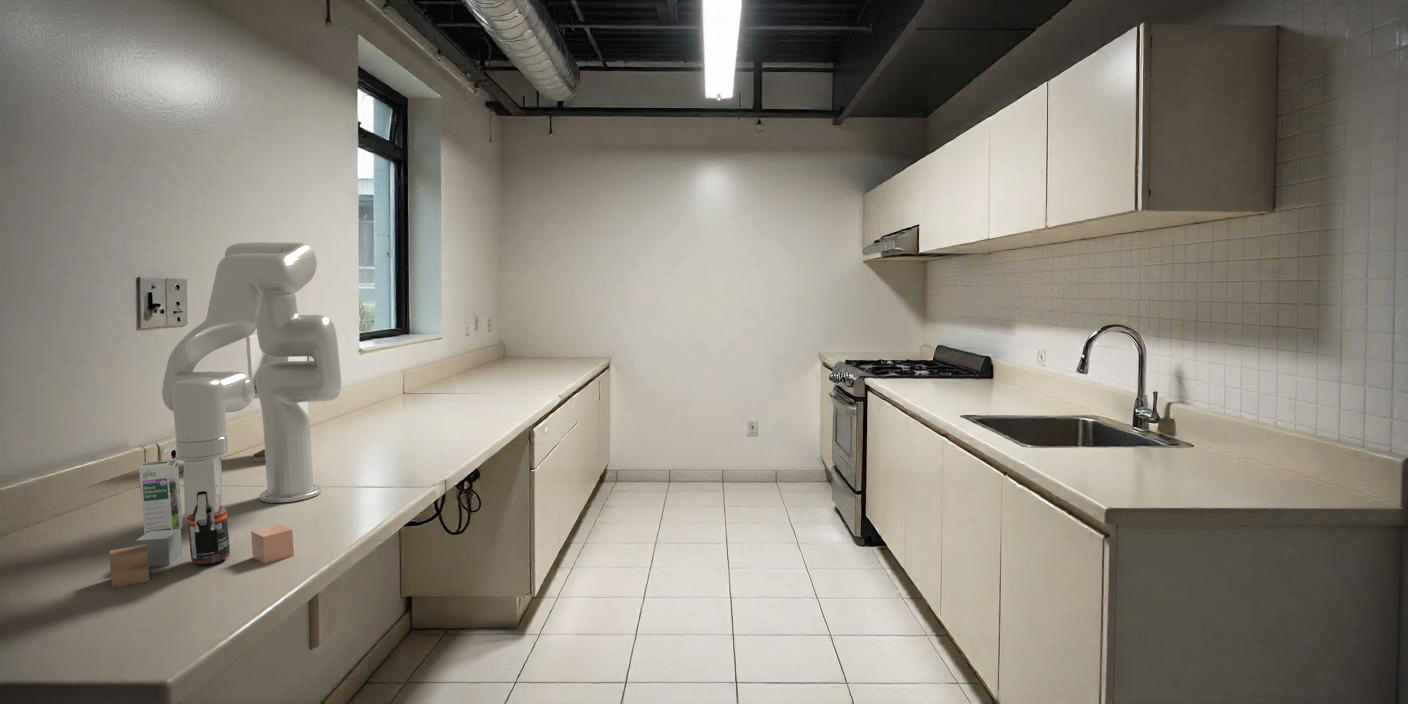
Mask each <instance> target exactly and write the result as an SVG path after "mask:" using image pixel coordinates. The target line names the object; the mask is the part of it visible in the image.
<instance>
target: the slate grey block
mask: <svg viewBox="0 0 1408 704" xmlns="http://www.w3.org/2000/svg"><path fill="white" fill-rule="evenodd" d="M145 544H147V554H148V567H149V568H151V567H160V566H161V567H163V566H171V565H172V564H173V563H174V562H175V561H177V560H178V559H180V558H181V557H182V556H183V543H182V529H176V530H160V531H149V532H148V533H146V534H145V535H144V534H143V535H142V536H140V537H139V538H137V539H135V546H140V545H145ZM180 556H181V557H180Z"/></svg>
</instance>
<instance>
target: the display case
mask: <svg viewBox="0 0 1408 704" xmlns="http://www.w3.org/2000/svg"><path fill="white" fill-rule="evenodd" d="M245 339H246V354H247V355H246V357H247V358H246V359H247V371H248V374H247V375H248V376H249V377H250V378H251V379H252V381H253V383H254V386H255V394H254V398H253V399H259V395H258V392H257V388H256V374H257V372H258V370H259V369H260V368H261V367H262V366H264V365H265V364H268V363H272V362H279V361H306V356H302V357H274V356H268V355H266V354H264V353H263V352H262V351H261V349H260V346H259V342H258V336H257V334H255V335H254V334H253V335H249V336H248V337H246V338H245ZM298 404H299V405H300V406H301V408H302V409H303V410H304V411H305V412H306V414H307V415H308V416H309V402H299V403H298ZM253 462H254V463H255V462H266V461H265V448H264V449H262V450H260V451H258V452H255V453H254V454H253Z"/></svg>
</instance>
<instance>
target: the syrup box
mask: <svg viewBox="0 0 1408 704" xmlns="http://www.w3.org/2000/svg"><path fill="white" fill-rule="evenodd" d="M138 473H139V485H140V493H141V495H140V496H141V505H142V506H141V507H142V516H143V517H142V518H143V535H145V534H146V533H148V532H149V531H160V530H176V529H181V530H182V528H183V515H182V514H183V513H182V500H181V499H182V498H181V485H180V471H179V460H178V459H177V458H175V459H167V460H156V461H144V462H143V463H142V464H140V466H139V472H138Z"/></svg>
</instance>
